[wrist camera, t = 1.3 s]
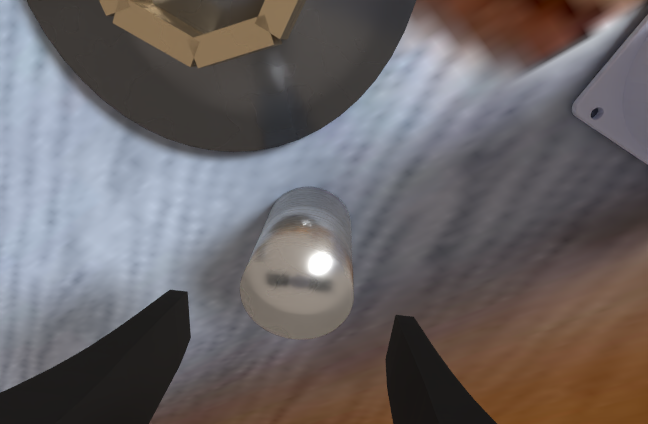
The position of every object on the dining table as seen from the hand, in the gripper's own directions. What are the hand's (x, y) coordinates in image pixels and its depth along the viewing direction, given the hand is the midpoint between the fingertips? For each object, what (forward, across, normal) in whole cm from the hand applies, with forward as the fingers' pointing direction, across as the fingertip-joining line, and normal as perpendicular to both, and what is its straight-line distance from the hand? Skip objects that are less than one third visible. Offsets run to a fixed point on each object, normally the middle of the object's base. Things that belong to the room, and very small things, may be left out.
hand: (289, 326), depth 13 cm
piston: (+8, 0, 0) cm, 8 cm away
